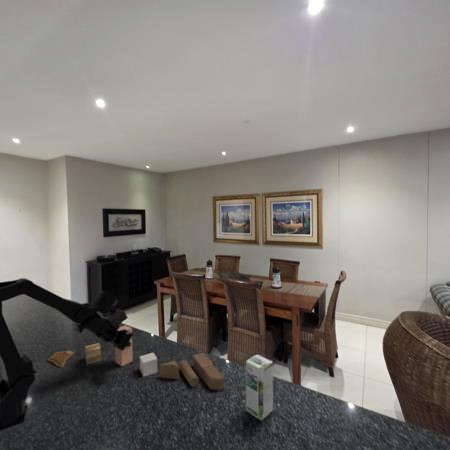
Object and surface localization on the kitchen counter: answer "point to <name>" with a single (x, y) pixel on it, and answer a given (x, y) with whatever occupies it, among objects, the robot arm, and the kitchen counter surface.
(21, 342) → the kitchen counter surface
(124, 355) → the terracotta block
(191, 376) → the wooden block set
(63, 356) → the shard
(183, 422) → the kitchen counter surface
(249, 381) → the syrup box
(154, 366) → the grey plastic cube
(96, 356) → the honey oak cube
